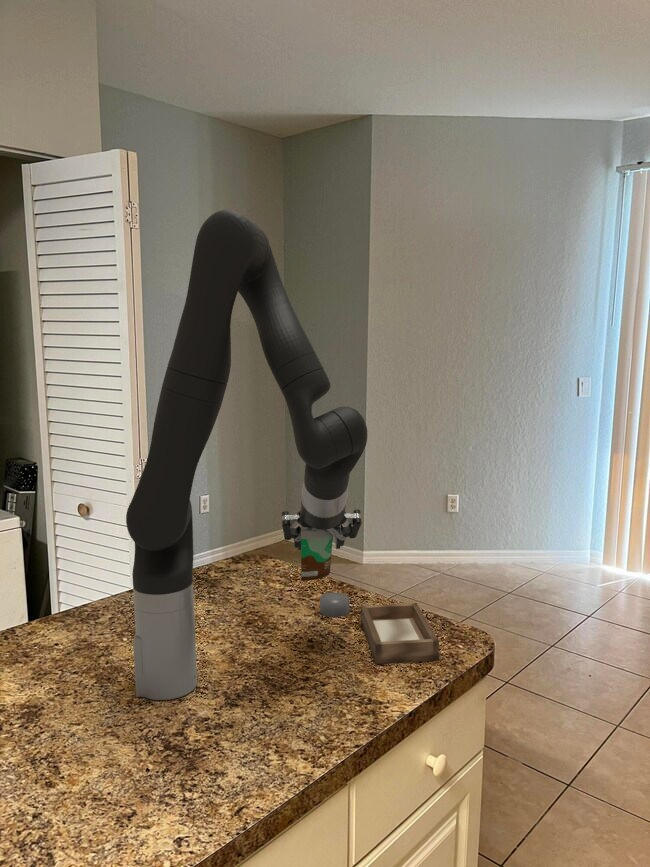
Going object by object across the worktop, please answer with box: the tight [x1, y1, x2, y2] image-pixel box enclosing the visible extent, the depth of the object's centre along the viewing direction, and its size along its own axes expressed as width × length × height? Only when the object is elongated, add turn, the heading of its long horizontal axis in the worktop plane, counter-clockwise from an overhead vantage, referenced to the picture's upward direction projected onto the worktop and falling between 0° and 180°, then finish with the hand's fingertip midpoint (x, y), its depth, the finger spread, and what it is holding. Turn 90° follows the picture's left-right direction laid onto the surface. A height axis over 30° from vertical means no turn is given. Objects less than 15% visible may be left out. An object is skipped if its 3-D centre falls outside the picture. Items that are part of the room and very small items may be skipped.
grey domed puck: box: [319, 591, 350, 618], centre depth 141 cm, size 6×6×3 cm
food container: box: [300, 527, 334, 582], centre depth 125 cm, size 12×6×10 cm, turn 179°
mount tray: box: [360, 602, 440, 665], centre depth 127 cm, size 11×17×4 cm, turn 5°
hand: (318, 544), depth 127 cm, fingers closed on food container, 6 cm apart
